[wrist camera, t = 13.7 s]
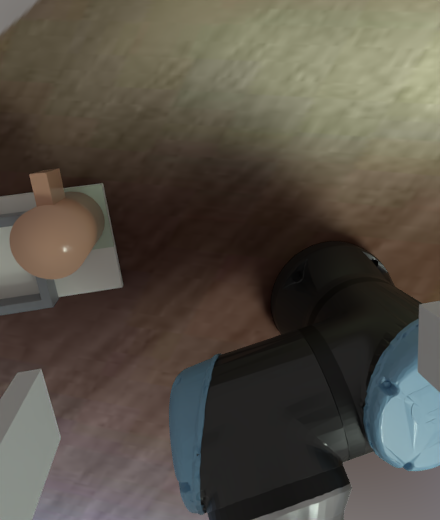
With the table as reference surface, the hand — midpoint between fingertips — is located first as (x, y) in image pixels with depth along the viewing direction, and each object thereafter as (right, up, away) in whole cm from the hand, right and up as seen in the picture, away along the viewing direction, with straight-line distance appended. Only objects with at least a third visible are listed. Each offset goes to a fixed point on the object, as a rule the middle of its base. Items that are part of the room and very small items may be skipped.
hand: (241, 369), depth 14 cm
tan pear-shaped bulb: (-17, +9, +30) cm, 36 cm away
